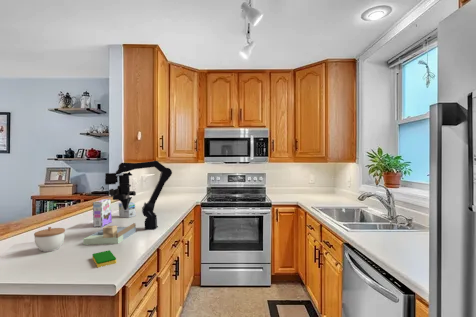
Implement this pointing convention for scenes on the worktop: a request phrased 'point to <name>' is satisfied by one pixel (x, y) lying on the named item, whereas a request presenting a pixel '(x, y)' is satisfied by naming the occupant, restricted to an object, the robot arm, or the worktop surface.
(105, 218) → the candy box
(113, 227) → the oak block
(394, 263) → the worktop surface
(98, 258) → the dish sponge
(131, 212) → the light bulb box
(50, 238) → the lidded bowl
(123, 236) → the board
